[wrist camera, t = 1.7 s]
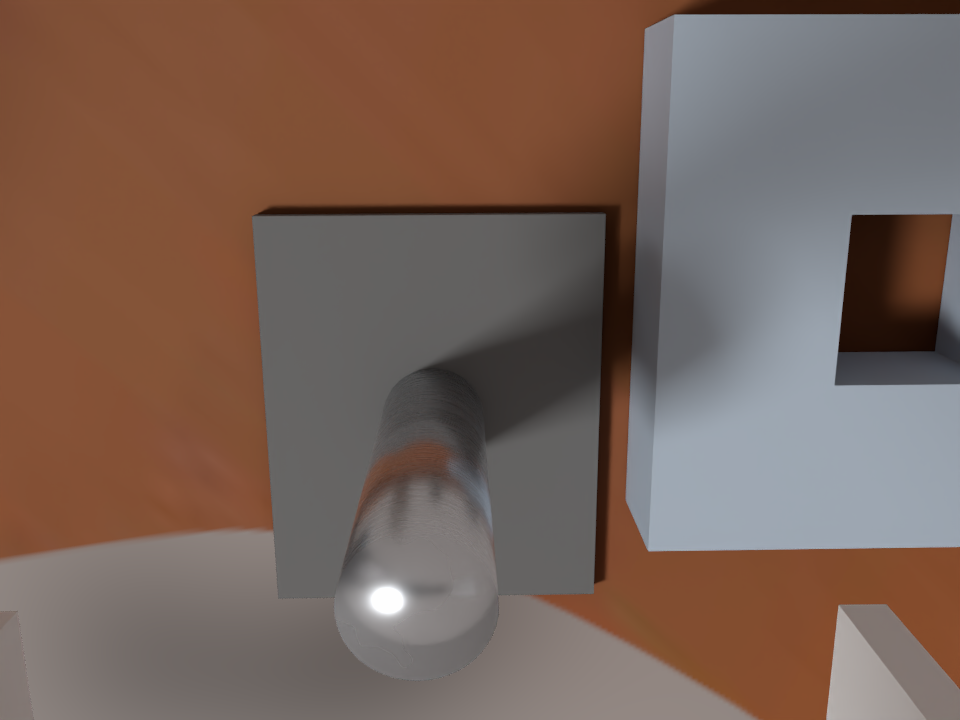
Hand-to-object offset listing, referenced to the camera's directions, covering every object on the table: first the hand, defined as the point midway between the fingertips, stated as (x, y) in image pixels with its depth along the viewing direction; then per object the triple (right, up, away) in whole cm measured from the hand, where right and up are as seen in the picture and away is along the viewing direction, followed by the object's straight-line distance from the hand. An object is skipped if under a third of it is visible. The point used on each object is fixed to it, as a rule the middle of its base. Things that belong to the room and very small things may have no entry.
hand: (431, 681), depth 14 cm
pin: (-1, +3, +13) cm, 13 cm away
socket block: (+12, +8, +12) cm, 19 cm away
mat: (-1, +4, +13) cm, 14 cm away
